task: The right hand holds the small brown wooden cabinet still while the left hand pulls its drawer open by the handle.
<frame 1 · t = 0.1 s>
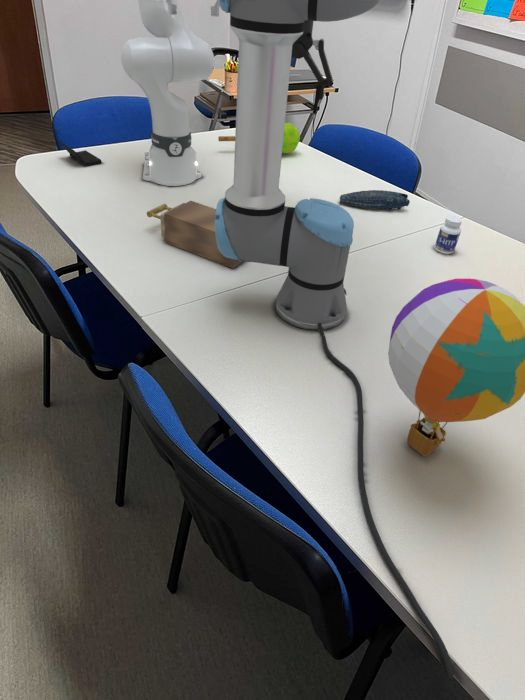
left hand: (194, 15, 114), 48 cm above the table, tool pointing down, fingers open, 8 cm apart
right hand: (288, 109, 135), 28 cm above the table, tool pointing down, fingers open, 13 cm apart
toy: (421, 447, 84), on the table
decorative tree: (258, 153, 191), on the table
drawer: (194, 227, 131), point 4 cm above the table, slide at 0.6 cm
fish model: (372, 206, 160), on the table
handheld gaming console: (81, 160, 172), on the table
cabinet: (210, 247, 132), on the table
pill bottle: (443, 250, 140), on the table
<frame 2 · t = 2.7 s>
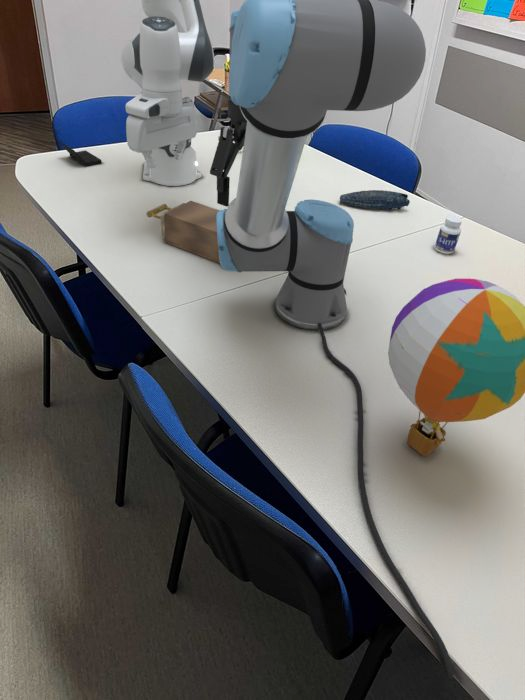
left hand: (165, 163, 127), 18 cm above the table, tool pointing down, fingers open, 8 cm apart
right hand: (241, 196, 121), 15 cm above the table, tool pointing down, fingers open, 13 cm apart
nothing on the table moved.
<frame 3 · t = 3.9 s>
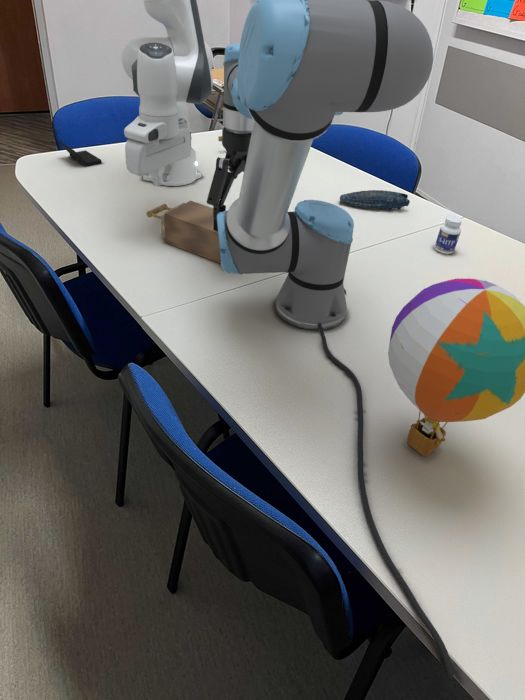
left hand: (162, 183, 129), 13 cm above the table, tool pointing down, fingers closed
right hand: (235, 221, 124), 9 cm above the table, tool pointing down, fingers open, 13 cm apart
nothing on the table moved.
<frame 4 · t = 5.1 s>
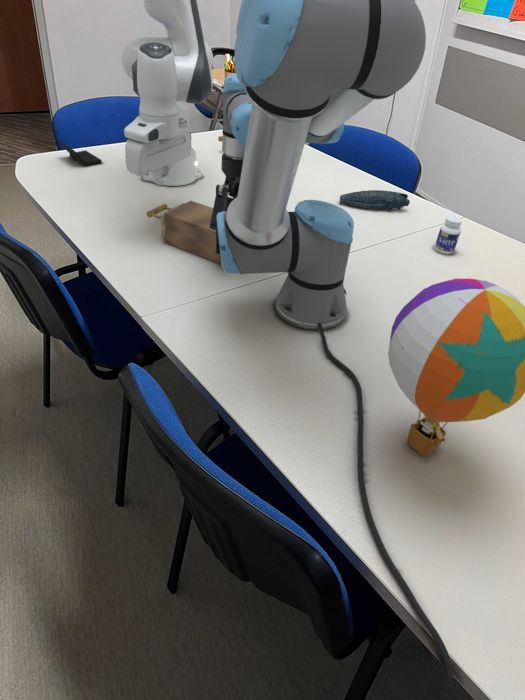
left hand: (162, 183, 129), 13 cm above the table, tool pointing down, fingers closed
right hand: (234, 245, 127), 3 cm above the table, tool pointing down, fingers closed on cabinet, 10 cm apart
cabinet: (211, 247, 132), on the table, touching right hand
everything else where it was.
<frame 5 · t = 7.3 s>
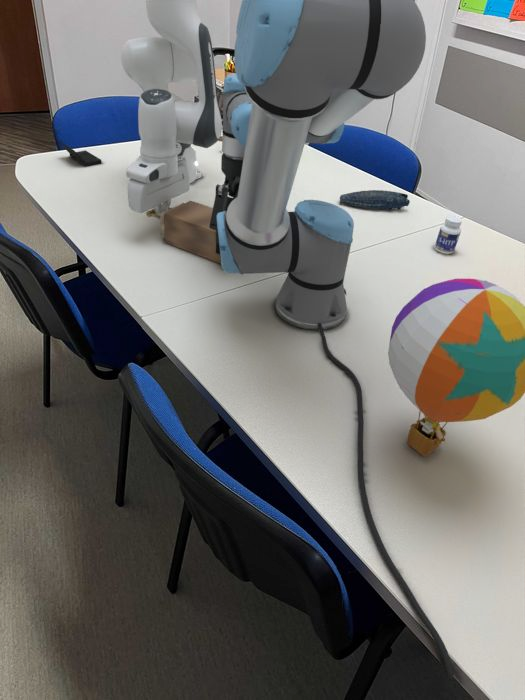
left hand: (162, 217, 135), 3 cm above the table, tool pointing down, fingers closed, pressing on drawer
right hand: (234, 245, 127), 3 cm above the table, tool pointing down, fingers closed on cabinet, 10 cm apart
drawer: (193, 227, 131), point 4 cm above the table, slide at 0.6 cm, touching left hand
cabinet: (210, 247, 132), on the table, touching right hand
everything else where it was.
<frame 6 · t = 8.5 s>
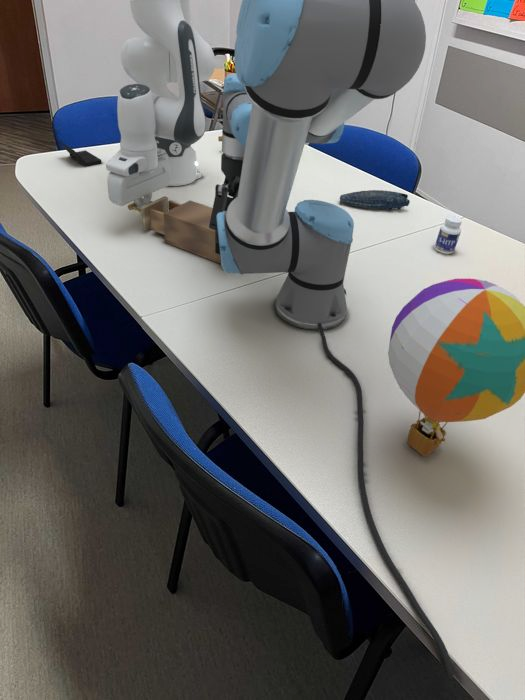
left hand: (143, 210, 138), 3 cm above the table, tool pointing down, fingers closed, pressing on drawer
right hand: (234, 245, 127), 3 cm above the table, tool pointing down, fingers closed on cabinet, 10 cm apart
drawer: (174, 219, 134), point 4 cm above the table, slide at 6.8 cm, touching left hand
cabinet: (210, 247, 132), on the table, touching right hand
everything else where it was.
when the right hand's fingers open (3 cm above the table, at t = 10.3 s): cabinet stays where it is, on the table.
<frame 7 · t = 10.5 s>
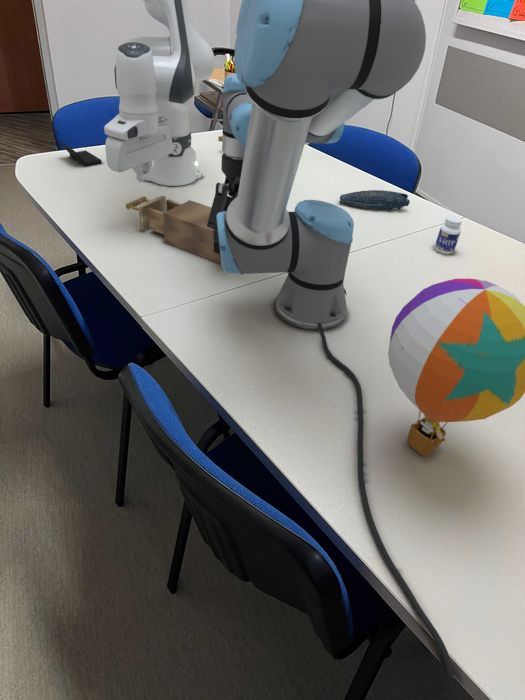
left hand: (143, 179, 132), 12 cm above the table, tool pointing down, fingers closed
right hand: (234, 242, 127), 4 cm above the table, tool pointing down, fingers open, 13 cm apart
drawer: (171, 219, 134), point 4 cm above the table, slide at 7.4 cm
cabinet: (209, 247, 132), on the table
everything else where it was.
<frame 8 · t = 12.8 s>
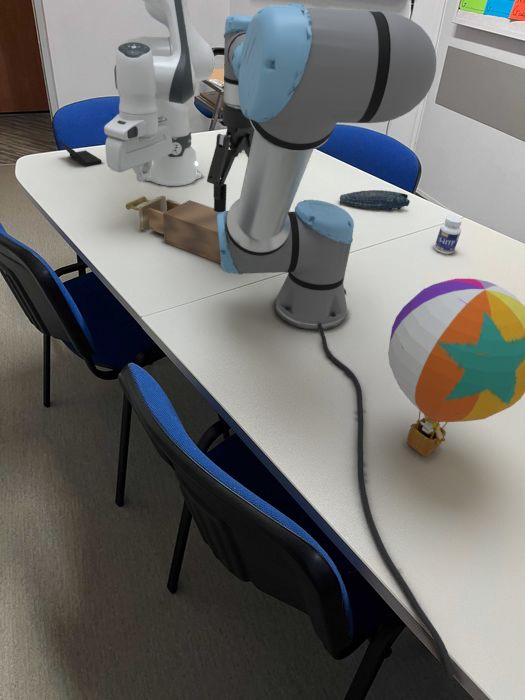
left hand: (143, 179, 132), 12 cm above the table, tool pointing down, fingers closed
right hand: (236, 202, 120), 14 cm above the table, tool pointing down, fingers open, 13 cm apart
nothing on the table moved.
at the end: drawer slide at 7.4 cm; cabinet tilted 0°; cabinet never tilted more than 4° during the clip; cabinet moved 0.4 cm from its start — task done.
